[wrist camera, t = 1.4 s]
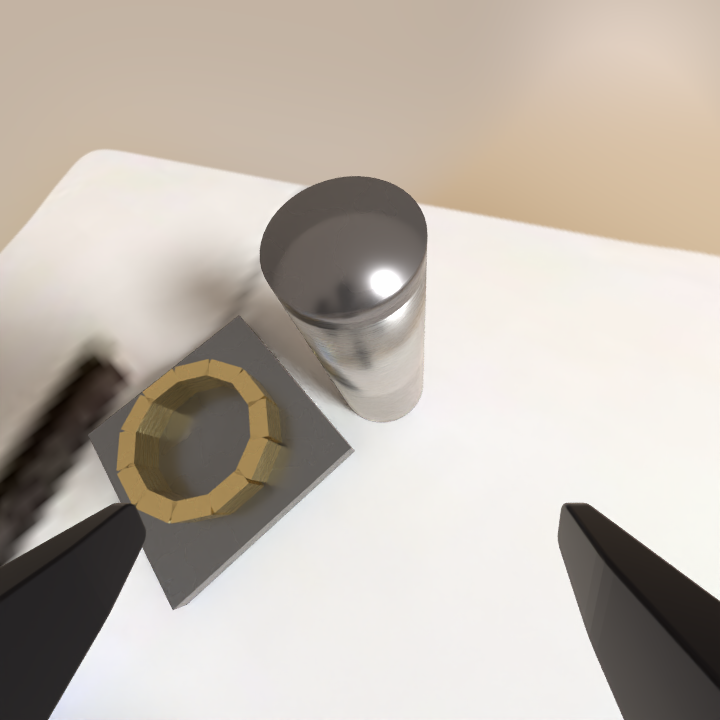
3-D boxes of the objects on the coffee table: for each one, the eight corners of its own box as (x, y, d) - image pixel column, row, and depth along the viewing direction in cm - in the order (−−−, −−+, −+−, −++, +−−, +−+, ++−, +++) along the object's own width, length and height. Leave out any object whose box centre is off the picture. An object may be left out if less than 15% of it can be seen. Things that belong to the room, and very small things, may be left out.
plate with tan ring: (186, 604, 19) (145, 621, 16) (103, 438, 24) (59, 427, 21) (354, 450, 21) (344, 441, 18) (246, 323, 26) (224, 299, 23)
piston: (379, 439, 21) (328, 347, 9) (327, 381, 23) (229, 244, 11) (440, 383, 22) (465, 232, 10) (384, 331, 24) (350, 153, 12)
